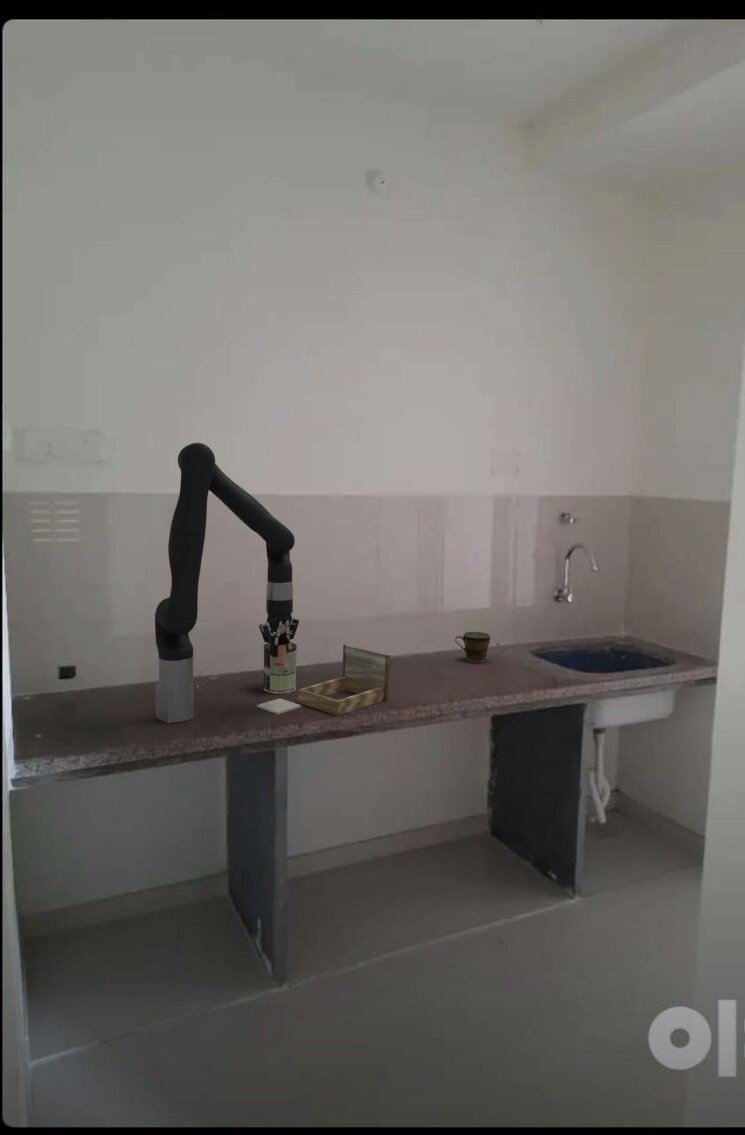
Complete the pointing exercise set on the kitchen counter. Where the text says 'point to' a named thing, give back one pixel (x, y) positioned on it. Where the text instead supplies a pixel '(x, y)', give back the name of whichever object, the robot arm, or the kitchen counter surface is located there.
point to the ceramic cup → (475, 646)
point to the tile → (278, 706)
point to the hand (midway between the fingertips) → (279, 655)
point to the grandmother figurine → (282, 649)
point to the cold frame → (352, 683)
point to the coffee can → (280, 672)
